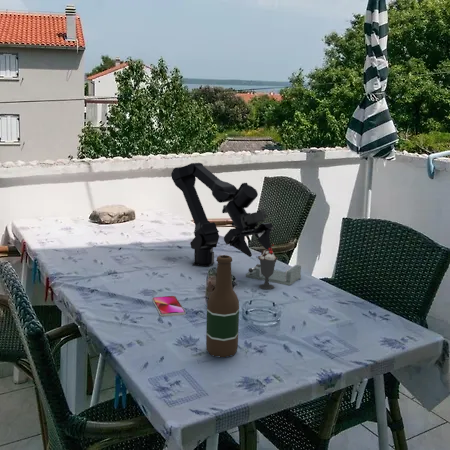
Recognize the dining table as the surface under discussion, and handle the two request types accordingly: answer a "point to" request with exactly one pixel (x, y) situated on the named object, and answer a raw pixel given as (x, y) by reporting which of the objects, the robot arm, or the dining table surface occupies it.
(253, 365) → the dining table surface
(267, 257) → the sundae
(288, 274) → the vise
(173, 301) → the smartphone
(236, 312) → the beer bottle
